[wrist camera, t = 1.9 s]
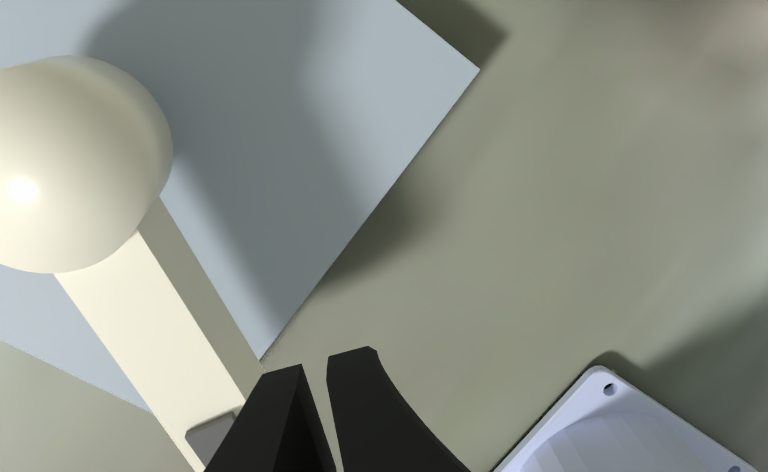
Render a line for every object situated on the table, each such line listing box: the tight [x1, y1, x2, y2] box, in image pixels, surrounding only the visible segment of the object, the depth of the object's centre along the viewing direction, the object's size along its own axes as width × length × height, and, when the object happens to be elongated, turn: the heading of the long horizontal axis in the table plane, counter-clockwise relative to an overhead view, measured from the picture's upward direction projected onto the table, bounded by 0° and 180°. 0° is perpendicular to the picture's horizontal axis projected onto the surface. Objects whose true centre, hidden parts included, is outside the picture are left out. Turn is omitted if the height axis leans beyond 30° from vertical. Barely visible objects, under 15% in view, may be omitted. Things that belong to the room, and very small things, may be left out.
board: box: [0, 0, 480, 414], centre depth 15 cm, size 14×14×6 cm
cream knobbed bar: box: [0, 55, 266, 472], centre depth 14 cm, size 10×4×3 cm, turn 23°
